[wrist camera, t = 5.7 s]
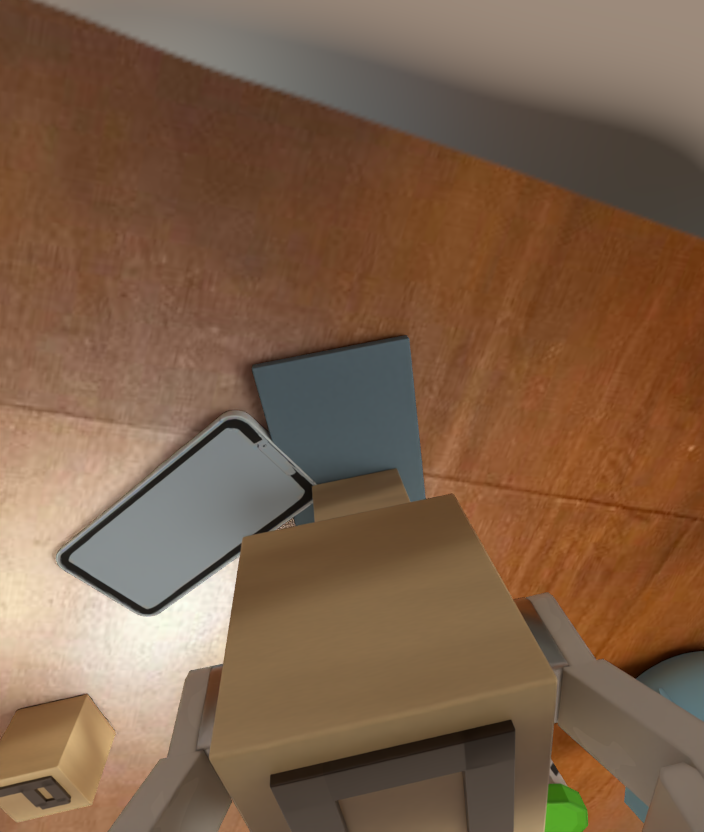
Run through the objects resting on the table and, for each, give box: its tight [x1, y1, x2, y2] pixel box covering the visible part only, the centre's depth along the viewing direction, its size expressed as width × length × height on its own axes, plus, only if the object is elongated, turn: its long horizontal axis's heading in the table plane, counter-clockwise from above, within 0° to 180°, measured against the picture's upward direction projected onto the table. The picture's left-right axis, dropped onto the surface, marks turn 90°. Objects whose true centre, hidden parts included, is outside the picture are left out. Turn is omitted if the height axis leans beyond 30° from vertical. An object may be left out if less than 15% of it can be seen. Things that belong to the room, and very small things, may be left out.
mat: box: [252, 335, 426, 526], centre depth 26 cm, size 20×8×1 cm, turn 9°
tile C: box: [209, 494, 558, 832], centre depth 9 cm, size 5×5×5 cm
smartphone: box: [56, 410, 317, 617], centre depth 26 cm, size 7×1×15 cm
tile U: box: [312, 468, 410, 522], centre depth 24 cm, size 5×5×5 cm
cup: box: [544, 760, 588, 832], centre depth 29 cm, size 8×8×15 cm
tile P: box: [0, 694, 116, 822], centre depth 30 cm, size 5×5×5 cm
